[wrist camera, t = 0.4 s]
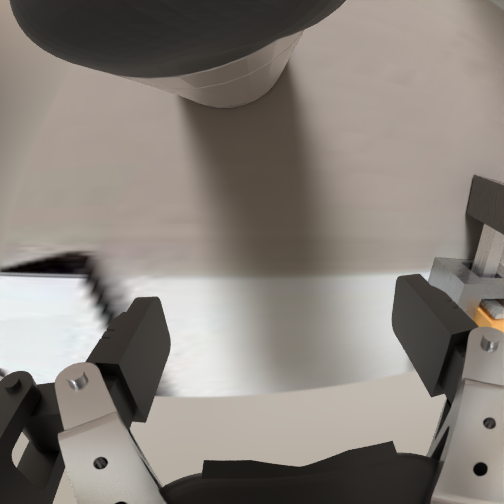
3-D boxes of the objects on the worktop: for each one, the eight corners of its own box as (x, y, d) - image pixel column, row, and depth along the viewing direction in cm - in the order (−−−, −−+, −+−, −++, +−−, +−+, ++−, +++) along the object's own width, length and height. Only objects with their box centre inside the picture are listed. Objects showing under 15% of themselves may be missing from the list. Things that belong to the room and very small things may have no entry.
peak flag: (457, 289, 28) (492, 325, 22) (475, 289, 28) (509, 323, 22) (454, 299, 29) (487, 336, 22) (471, 299, 29) (504, 334, 22)
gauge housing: (435, 257, 28) (470, 289, 22) (498, 262, 28) (532, 289, 22) (409, 334, 32) (433, 374, 26) (472, 330, 32) (498, 363, 26)
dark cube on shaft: (473, 174, 24) (524, 193, 18) (505, 183, 25) (552, 203, 18) (448, 281, 29) (485, 319, 22) (479, 282, 29) (516, 317, 22)
